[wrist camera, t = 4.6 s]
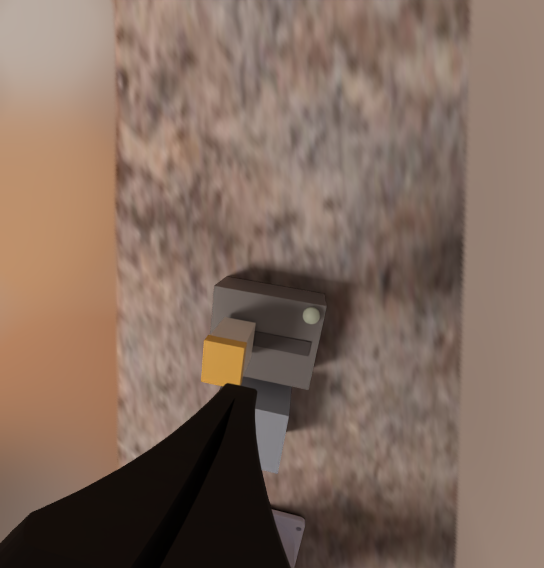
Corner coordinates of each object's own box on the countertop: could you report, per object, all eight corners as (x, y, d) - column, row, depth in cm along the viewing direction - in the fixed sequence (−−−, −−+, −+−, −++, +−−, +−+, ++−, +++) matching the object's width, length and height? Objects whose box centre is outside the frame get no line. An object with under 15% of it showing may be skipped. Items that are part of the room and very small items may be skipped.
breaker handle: (251, 357, 17) (239, 389, 14) (220, 351, 17) (201, 381, 14) (256, 322, 16) (244, 348, 13) (224, 316, 16) (204, 340, 13)
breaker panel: (308, 368, 19) (308, 393, 17) (219, 350, 20) (205, 371, 17) (324, 293, 18) (326, 308, 15) (226, 276, 18) (212, 287, 16)
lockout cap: (282, 432, 21) (277, 473, 18) (224, 419, 22) (209, 456, 18) (292, 382, 20) (288, 416, 17) (230, 369, 20) (214, 399, 17)
